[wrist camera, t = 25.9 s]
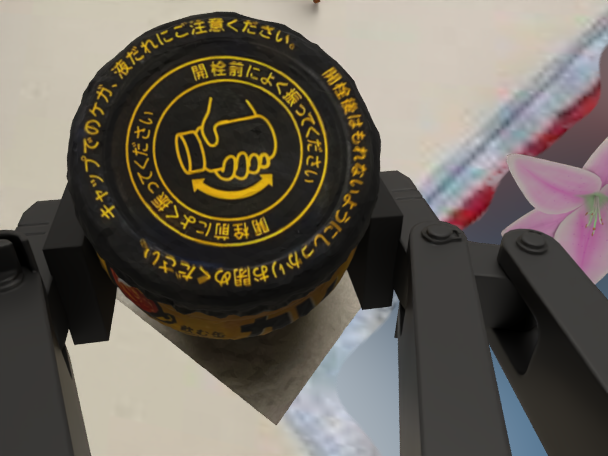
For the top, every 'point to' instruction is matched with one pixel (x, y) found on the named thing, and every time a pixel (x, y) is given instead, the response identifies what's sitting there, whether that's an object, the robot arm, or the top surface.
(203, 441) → the top surface
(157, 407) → the top surface
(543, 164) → the lily
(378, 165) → the condiment
